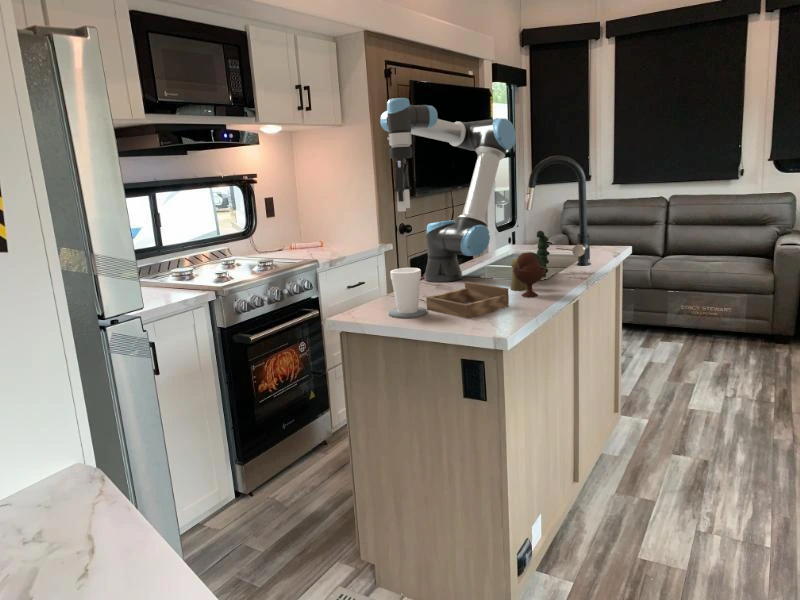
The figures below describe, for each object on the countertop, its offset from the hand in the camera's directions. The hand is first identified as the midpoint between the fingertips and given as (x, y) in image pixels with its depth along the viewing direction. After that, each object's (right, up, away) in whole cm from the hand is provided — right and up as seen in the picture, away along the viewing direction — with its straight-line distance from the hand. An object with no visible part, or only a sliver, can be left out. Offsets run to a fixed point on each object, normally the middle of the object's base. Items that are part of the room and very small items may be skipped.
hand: (404, 209), depth 214 cm
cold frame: (+20, -34, -16) cm, 42 cm away
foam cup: (+1, -35, -18) cm, 39 cm away
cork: (+41, -27, +8) cm, 50 cm away
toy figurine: (+50, -23, +25) cm, 61 cm away
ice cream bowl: (+43, -30, -3) cm, 52 cm away
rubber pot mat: (+1, -35, -18) cm, 40 cm away
